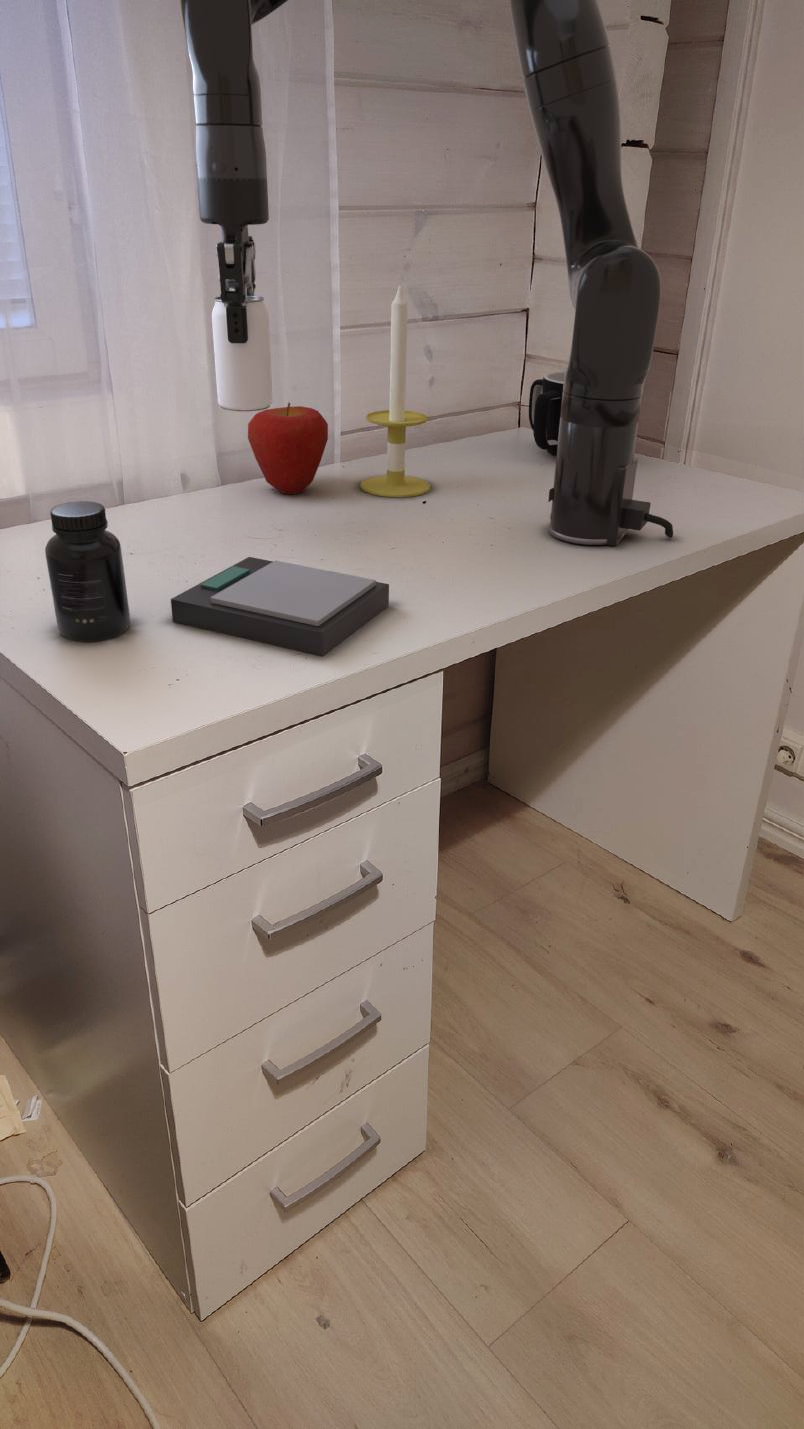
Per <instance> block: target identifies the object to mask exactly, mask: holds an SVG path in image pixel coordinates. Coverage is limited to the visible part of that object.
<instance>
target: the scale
mask: <svg viewBox="0 0 804 1429" xmlns="http://www.w3.org/2000/svg"><path fill="white" fill-rule="evenodd" d="M389 601H390V583H385V582H380V581H377V580H376V579H372V578H367V577H363V576H357V575H353V574H347V573H341V572H337V571H331V570H326V569H322V568H316V567H312V566H305V565H301V564H296V563H290V562H286V561H281V560H268V559H263V558H258V557H254V556H253V557H252V556H248V557H246V558H244V559H242V560H241V561H238V562H237V563H235V564H233V565H231V566H229V567H227V568H226V569H224V570H222V571H220V572H218V573H217V574H215V575H213V576H211V577H209V578H207V579H205V580H203V581H202V582H200V583H198V584H196V585H194V586H192V587H191V588H188V589H187V590H184V591H183V592H181V593H180V594H178V595H176V596H174V597H172V598H170V607H171V618H172V622H173V623H178V624H182V625H187V626H191V627H195V628H199V629H204V630H207V631H213V632H216V633H222V634H225V635H229V636H235V637H237V638H238V637H239V638H242V639H246V640H251V641H256V642H260V643H264V644H268V645H273V646H276V647H277V646H278V647H282V648H286V649H290V650H294V651H298V652H303V653H307V654H312V655H316V656H319V657H320V656H321V657H324V656H326V654H328V653H329V652H330V651H332V650H333V649H334V648H335V647H337V646H338V645H339V644H340V643H342V642H343V641H344V640H345V639H347V638H349V637H350V636H351V635H352V634H354V633H355V632H357V630H359V629H360V628H362V627H364V625H365V624H367V623H368V622H370V620H373V619H374V618H375V617H376V616H377V615H379V614H380V613H381V612H383V611H384V610H385V609H386V608H387V607H389V606H390V602H389Z"/></svg>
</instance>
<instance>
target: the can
mask: <svg viewBox="0 0 804 1429" xmlns="http://www.w3.org/2000/svg"><path fill="white" fill-rule="evenodd" d="M247 299H248V304H247V307H246V308H247V326H248V341H247V342H246V343H230V342H229V341H228V333H227V318H226V307H224V304H223V303H222V299H220V296H216V297H214V298H213V300H214V305H213V308H212V312H211V326H212V339H213V340H212V341H213V354H214V355H213V356H214V368H215V370H214V371H215V382H216V394H217V395H216V396H217V404H218V405H219V406H220V408H221V409H223V410H226V411H229V412H230V411H231V412H257V411H258V412H260V411H264V410H268V409H270V407H271V405H272V404H273V381H272V379H273V378H272V354H271V336H270V335H271V334H270V319H269V318H270V317H269V316H270V315H269V311H268V309H267V307H266V305H265V303H264V300H265V298H264V297H263V296H258V295H254V296H247Z"/></svg>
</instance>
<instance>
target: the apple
mask: <svg viewBox="0 0 804 1429" xmlns="http://www.w3.org/2000/svg"><path fill="white" fill-rule="evenodd" d="M247 440H248V442H249V445H250V448H251V451H252V453H253V456H254V458H255V460H256V463H257V465H258V467H259V469H260V471H261V473H262V475H263V477H264V479H265V482H266V483H267V484H268V485H270V486H271V487H272V488H273V489H275V490H277V491H278V492H280V493H282V494H288V495H291V494H292V495H294V494H295V495H296V494H301V493H302V492H304V490H306V488H307V487H308V486H310V484H312V483H313V481H314V479H315V477H316V474H317V472H318V469H319V467H320V463H321V462H322V458H323V455H324V452H325V449H326V447H327V444H328V440H329V424H328V422H327V420H326V419H325V418H324V416H323V415H322V414H321V413H320V411H319V410H317V409H315V408H312V407H307V406H301V405H300V406H291V403H290V401H288V402H287V406H282V407H275V408H267V409H264V410H260V411H258V412H257V413H255V414H254V415H253V417H252V418H251V419H250V420H249V422H248V424H247Z"/></svg>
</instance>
